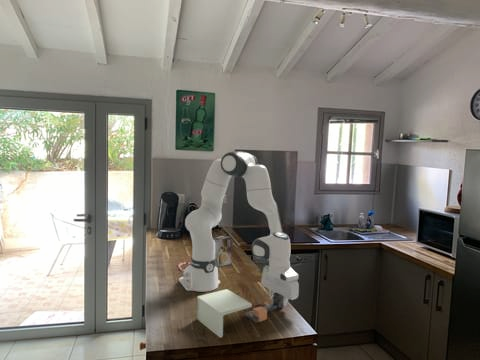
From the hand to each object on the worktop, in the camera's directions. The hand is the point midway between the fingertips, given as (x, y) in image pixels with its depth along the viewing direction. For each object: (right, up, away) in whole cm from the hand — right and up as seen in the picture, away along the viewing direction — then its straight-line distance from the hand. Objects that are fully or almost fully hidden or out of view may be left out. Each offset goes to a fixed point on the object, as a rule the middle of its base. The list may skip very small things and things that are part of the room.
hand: (278, 302), depth 154 cm
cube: (-9, -3, -11) cm, 14 cm away
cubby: (-23, -3, -15) cm, 28 cm away
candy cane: (-48, +2, +49) cm, 68 cm away
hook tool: (-5, -3, -6) cm, 8 cm away
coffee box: (-27, +3, +56) cm, 62 cm away
